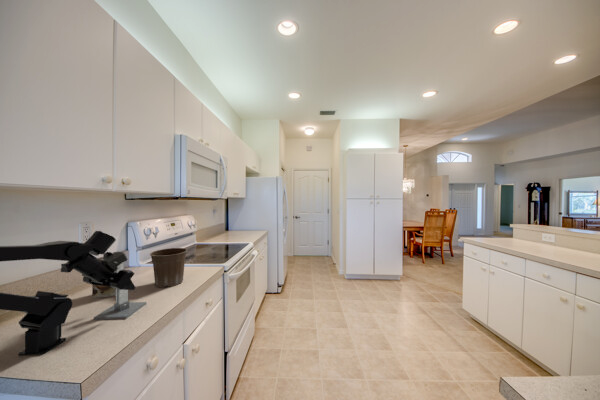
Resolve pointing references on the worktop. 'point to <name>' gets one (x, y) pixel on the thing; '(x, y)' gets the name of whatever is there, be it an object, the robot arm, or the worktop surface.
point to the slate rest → (124, 314)
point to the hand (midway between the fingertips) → (125, 287)
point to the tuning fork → (121, 300)
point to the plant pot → (168, 266)
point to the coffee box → (105, 290)
